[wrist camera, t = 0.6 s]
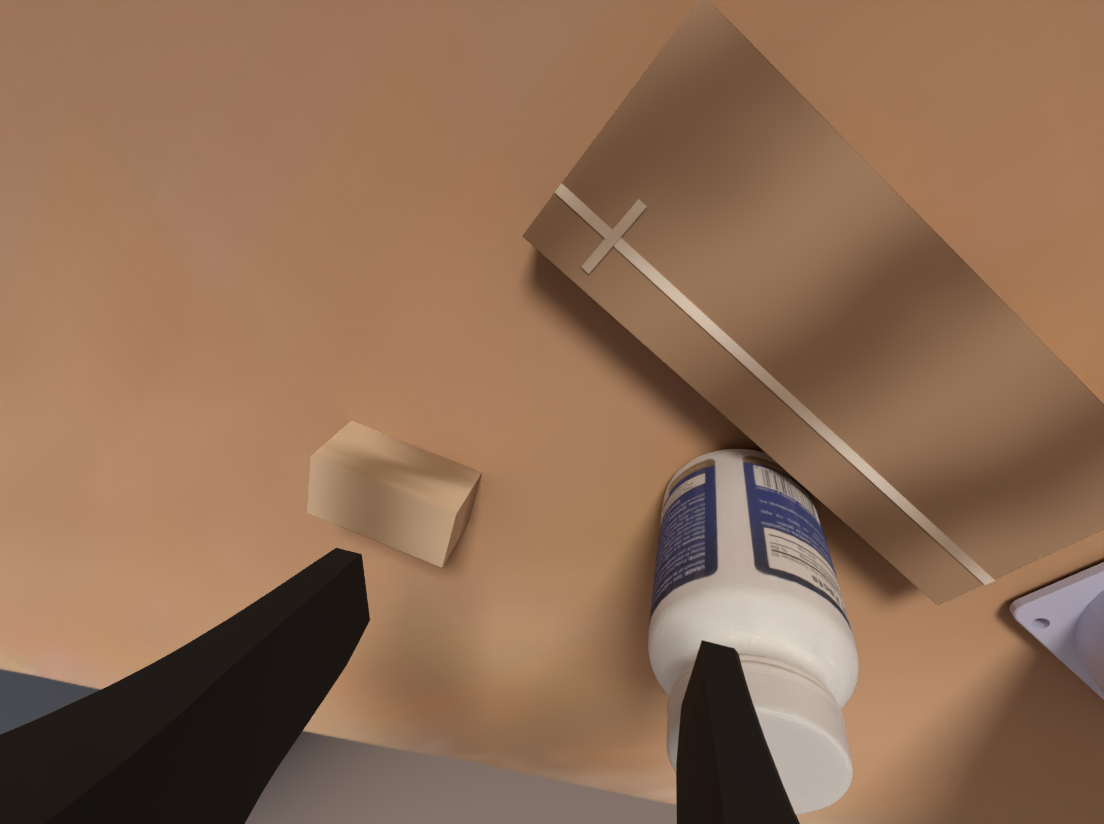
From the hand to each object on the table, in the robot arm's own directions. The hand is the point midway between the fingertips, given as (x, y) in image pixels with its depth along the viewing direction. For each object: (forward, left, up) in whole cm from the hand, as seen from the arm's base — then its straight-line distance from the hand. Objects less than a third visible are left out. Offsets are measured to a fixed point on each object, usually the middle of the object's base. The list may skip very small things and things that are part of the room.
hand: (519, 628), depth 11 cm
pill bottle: (-6, 0, -10) cm, 12 cm away
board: (-3, -7, -10) cm, 13 cm away
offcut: (+4, +9, -10) cm, 14 cm away
